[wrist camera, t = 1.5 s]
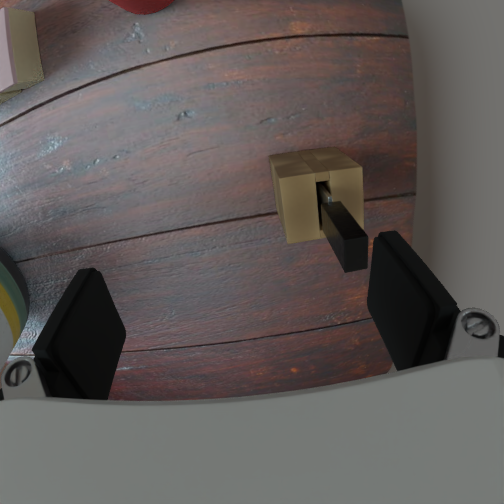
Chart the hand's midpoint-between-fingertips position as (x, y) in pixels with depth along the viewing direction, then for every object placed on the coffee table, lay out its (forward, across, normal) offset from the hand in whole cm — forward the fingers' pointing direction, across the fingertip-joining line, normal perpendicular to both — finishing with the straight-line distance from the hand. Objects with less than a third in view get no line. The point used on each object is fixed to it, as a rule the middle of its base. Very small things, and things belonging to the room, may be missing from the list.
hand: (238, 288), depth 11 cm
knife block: (+24, -7, +4) cm, 25 cm away
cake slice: (+24, +21, -16) cm, 35 cm away
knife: (+24, -7, +4) cm, 25 cm away
